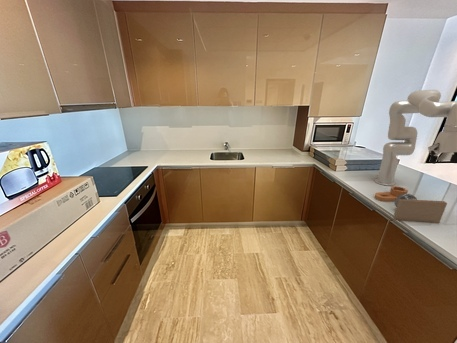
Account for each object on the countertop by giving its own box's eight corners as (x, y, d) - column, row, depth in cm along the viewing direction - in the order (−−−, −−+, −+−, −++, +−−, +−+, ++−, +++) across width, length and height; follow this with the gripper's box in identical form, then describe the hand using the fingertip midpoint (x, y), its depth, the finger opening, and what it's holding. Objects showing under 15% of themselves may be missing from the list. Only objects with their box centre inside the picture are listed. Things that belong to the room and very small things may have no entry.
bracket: (397, 195, 131) (400, 185, 128) (408, 201, 123) (411, 191, 120) (371, 196, 131) (373, 187, 128) (380, 202, 123) (383, 192, 120)
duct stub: (383, 208, 116) (388, 190, 112) (422, 210, 112) (429, 192, 108) (395, 220, 105) (401, 200, 101) (439, 223, 101) (447, 203, 97)
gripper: (466, 127, 96) (454, 160, 102) (428, 128, 98) (418, 160, 104) (483, 129, 89) (469, 164, 95) (441, 131, 91) (430, 165, 97)
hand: (442, 162), depth 99 cm, fingers open, 9 cm apart
